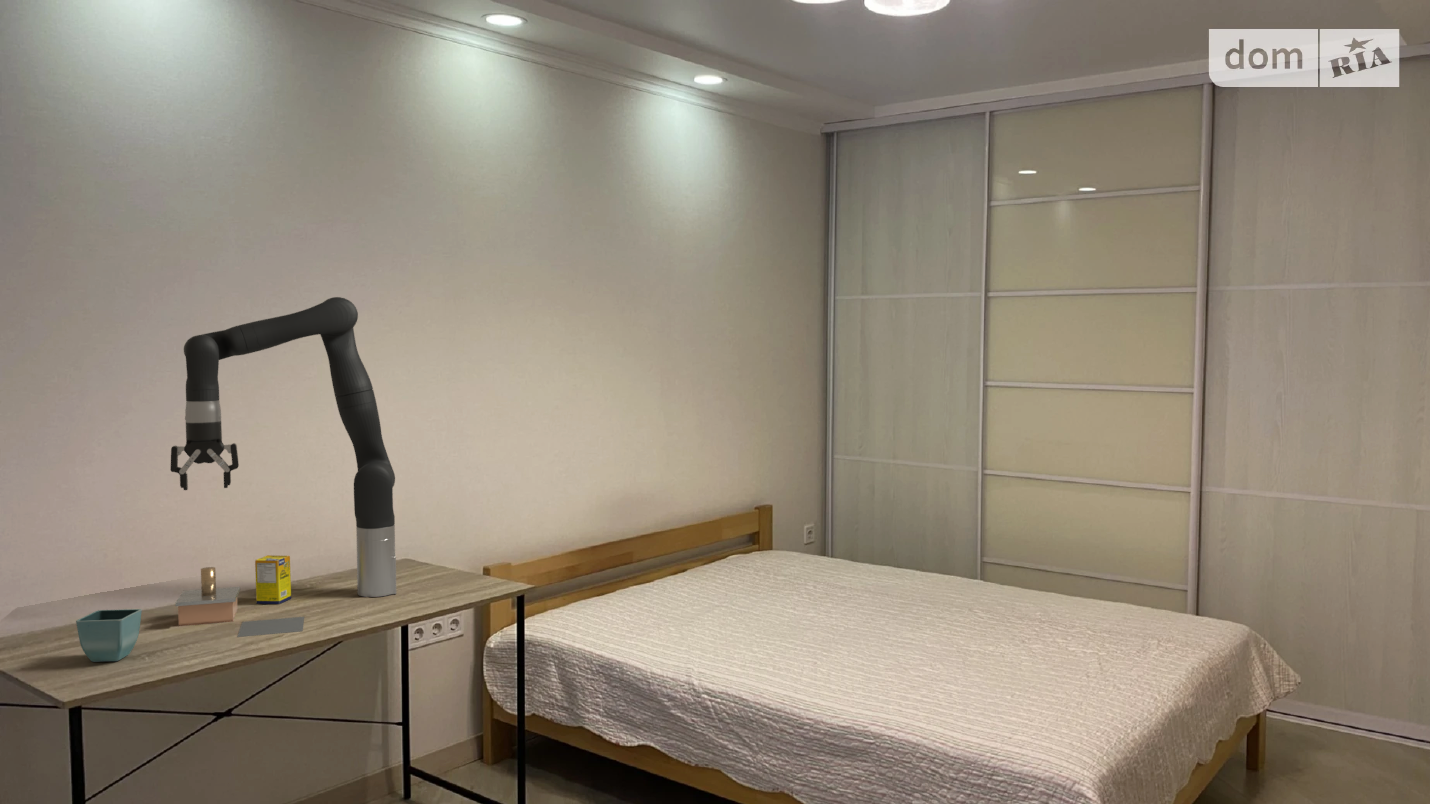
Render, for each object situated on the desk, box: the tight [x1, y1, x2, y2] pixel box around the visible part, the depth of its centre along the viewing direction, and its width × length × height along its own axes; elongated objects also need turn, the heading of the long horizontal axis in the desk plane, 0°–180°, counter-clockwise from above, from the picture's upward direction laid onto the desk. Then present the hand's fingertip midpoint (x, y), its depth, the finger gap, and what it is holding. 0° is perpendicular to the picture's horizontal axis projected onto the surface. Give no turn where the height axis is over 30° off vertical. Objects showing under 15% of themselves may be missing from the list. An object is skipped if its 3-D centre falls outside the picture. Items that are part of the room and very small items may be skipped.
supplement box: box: [254, 554, 292, 605], centre depth 252 cm, size 6×6×11 cm
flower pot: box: [75, 608, 143, 663], centre depth 206 cm, size 9×9×9 cm
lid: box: [175, 566, 241, 607], centre depth 235 cm, size 12×12×7 cm
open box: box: [177, 598, 239, 627], centre depth 236 cm, size 11×11×5 cm
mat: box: [237, 616, 305, 638], centre depth 228 cm, size 13×13×1 cm
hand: (205, 488), depth 242 cm, fingers open, 8 cm apart
